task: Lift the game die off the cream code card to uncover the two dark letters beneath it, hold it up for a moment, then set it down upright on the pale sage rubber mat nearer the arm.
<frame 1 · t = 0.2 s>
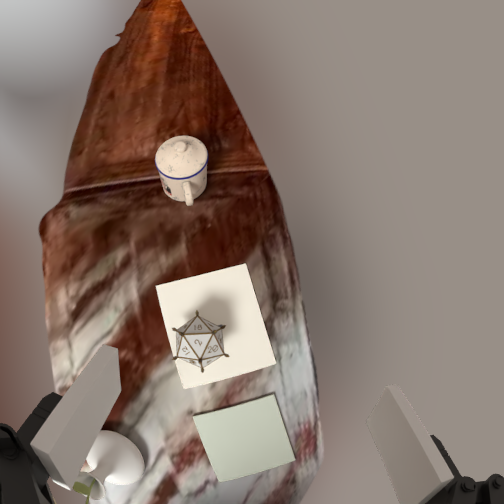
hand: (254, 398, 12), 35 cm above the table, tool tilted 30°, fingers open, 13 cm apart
teacup with lid: (186, 189, 53), on the table
sage mat: (245, 440, 41), on the table
game die: (200, 342, 45), resting on code card
code card: (214, 326, 46), on the table
flower in vase: (115, 458, 36), on the table
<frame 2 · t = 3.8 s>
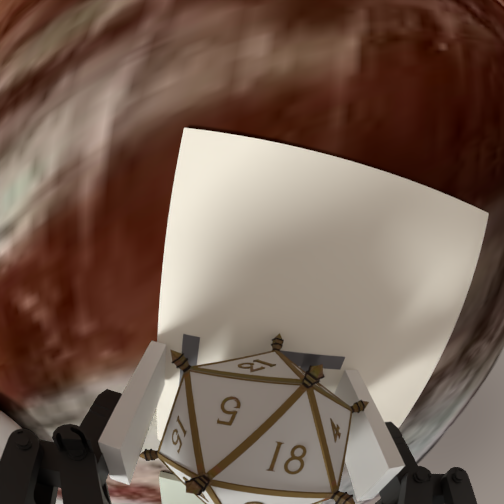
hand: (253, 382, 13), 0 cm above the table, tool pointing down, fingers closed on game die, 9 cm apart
game die: (254, 378, 14), resting on code card, touching gripper
code card: (321, 352, 13), on the table
flower in vase: (17, 435, 17), on the table
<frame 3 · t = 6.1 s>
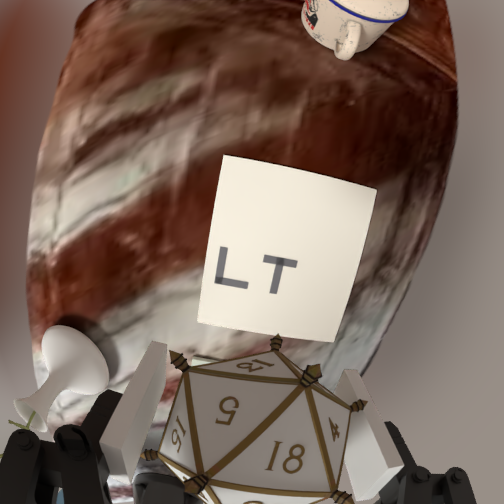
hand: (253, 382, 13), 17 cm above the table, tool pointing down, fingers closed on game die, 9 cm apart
teacup with lid: (336, 33, 23), on the table
game die: (254, 377, 14), point 17 cm above the table, touching gripper
code card: (285, 257, 29), on the table
flower in vase: (77, 357, 33), on the table
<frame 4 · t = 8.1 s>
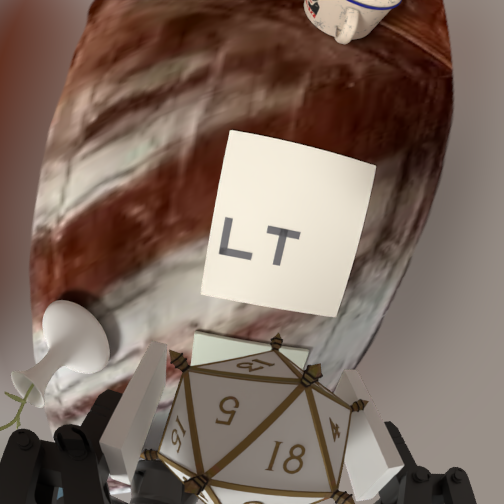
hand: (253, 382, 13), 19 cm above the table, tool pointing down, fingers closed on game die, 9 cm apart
teacup with lid: (337, 22, 24), on the table
sage mat: (242, 383, 35), on the table
game die: (254, 377, 14), point 18 cm above the table, touching gripper
code card: (288, 229, 30), on the table
flower in vase: (78, 335, 34), on the table
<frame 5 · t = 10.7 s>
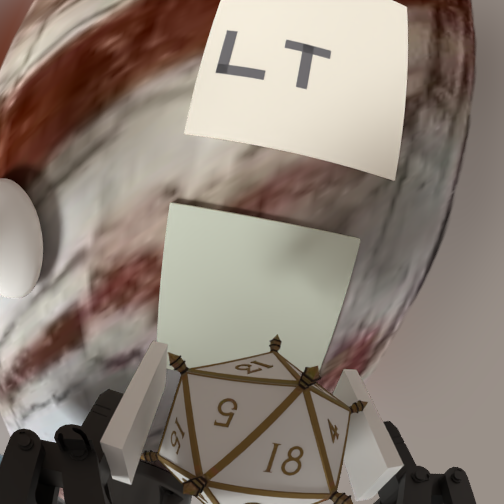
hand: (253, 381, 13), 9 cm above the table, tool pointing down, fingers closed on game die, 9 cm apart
sage mat: (249, 308, 22), on the table
game die: (253, 379, 14), point 9 cm above the table, touching gripper
code card: (314, 47, 17), on the table
flower in vase: (12, 242, 21), on the table
when the fingers open (2 cm above the table, at t = 12.8 s): game die drops 2 cm, resting on sage mat.
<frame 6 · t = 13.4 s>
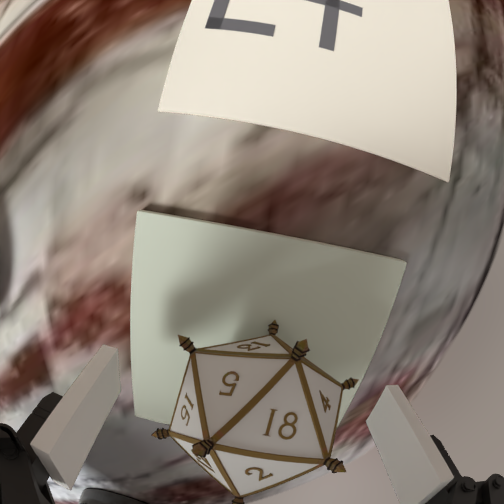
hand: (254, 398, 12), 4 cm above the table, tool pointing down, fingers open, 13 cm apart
sage mat: (253, 355, 16), on the table
game die: (255, 362, 15), resting on sage mat
code card: (340, 2, 11), on the table
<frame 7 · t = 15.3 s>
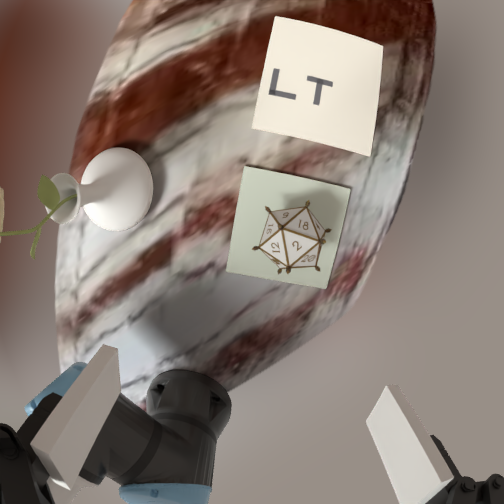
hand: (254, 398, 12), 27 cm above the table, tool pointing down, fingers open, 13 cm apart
sage mat: (287, 229, 37), on the table
game die: (289, 231, 37), resting on sage mat
code card: (323, 80, 32), on the table
flower in vase: (117, 193, 36), on the table
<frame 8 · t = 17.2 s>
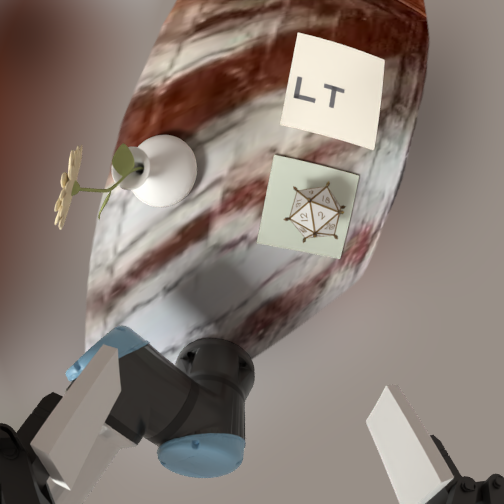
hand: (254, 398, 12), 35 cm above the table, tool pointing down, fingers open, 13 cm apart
sage mat: (308, 208, 44), on the table
game die: (310, 209, 44), resting on sage mat
code card: (337, 87, 39), on the table
flower in vase: (161, 175, 43), on the table
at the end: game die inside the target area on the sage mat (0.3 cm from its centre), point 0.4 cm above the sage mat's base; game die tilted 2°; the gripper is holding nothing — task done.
